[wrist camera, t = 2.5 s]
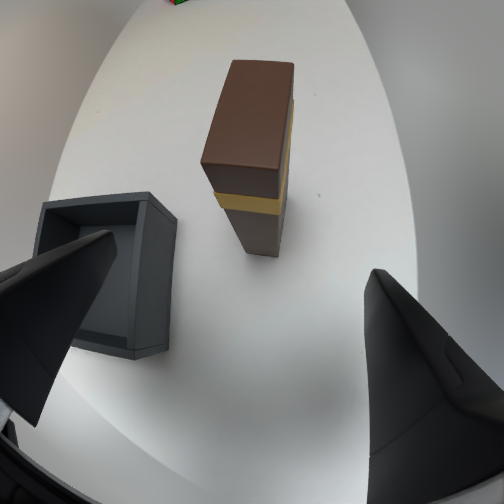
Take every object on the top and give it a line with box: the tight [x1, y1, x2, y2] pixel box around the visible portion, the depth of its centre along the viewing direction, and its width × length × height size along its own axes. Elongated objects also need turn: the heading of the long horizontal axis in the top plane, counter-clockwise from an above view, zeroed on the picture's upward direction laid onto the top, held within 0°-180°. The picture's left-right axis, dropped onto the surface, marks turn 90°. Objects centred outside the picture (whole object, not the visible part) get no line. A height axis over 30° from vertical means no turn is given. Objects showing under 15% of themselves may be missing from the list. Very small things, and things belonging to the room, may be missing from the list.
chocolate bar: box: [200, 60, 294, 257], centre depth 15 cm, size 5×2×13 cm, turn 171°
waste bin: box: [32, 192, 177, 360], centre depth 18 cm, size 10×10×6 cm
